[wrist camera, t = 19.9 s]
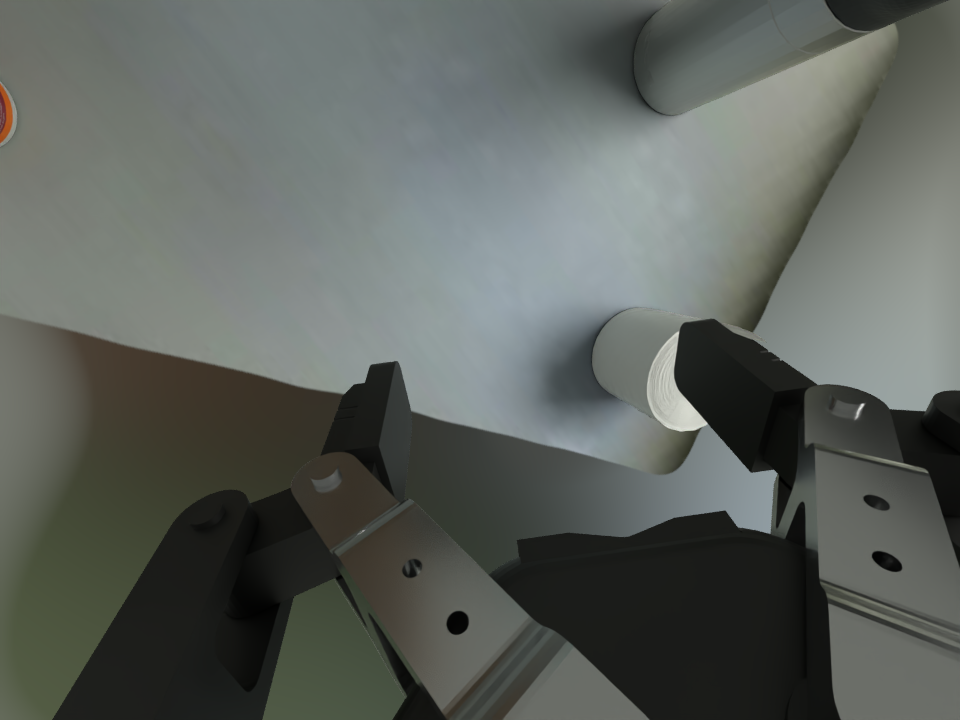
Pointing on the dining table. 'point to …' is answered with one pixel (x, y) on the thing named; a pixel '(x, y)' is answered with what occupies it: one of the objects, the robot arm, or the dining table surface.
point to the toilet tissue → (647, 364)
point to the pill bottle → (6, 115)
